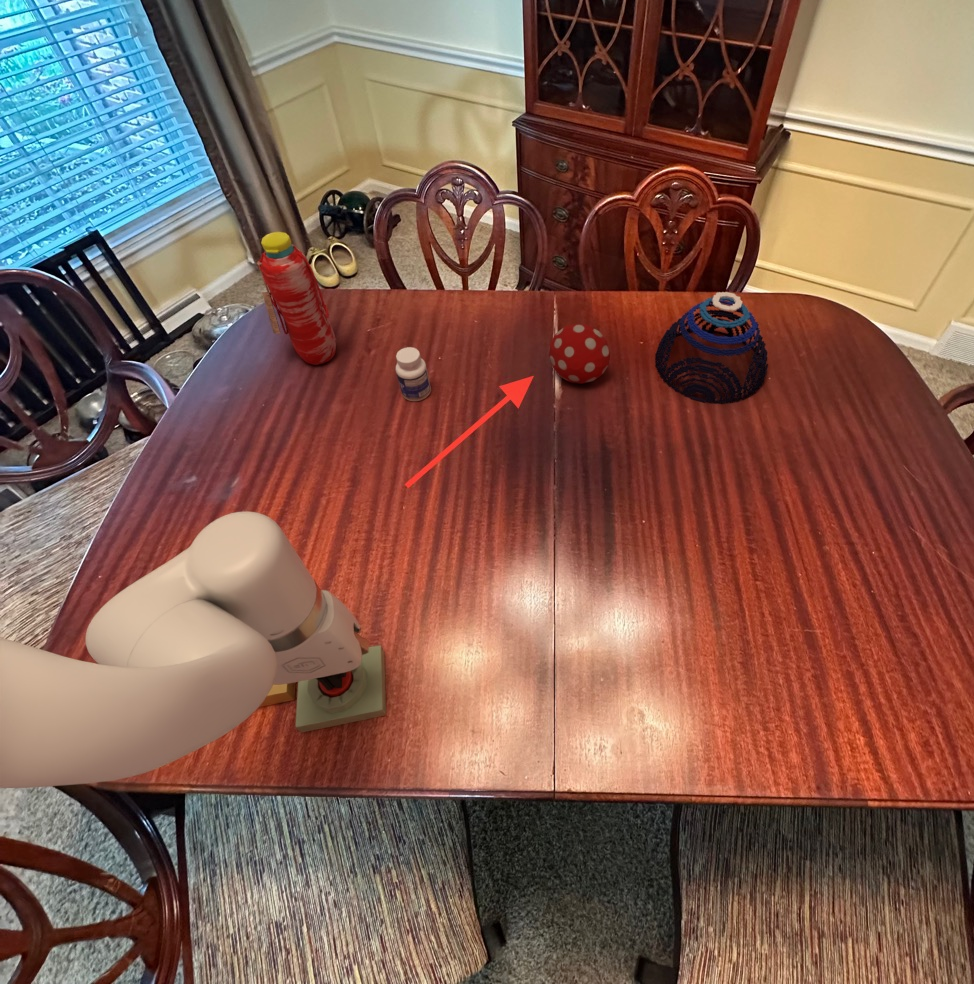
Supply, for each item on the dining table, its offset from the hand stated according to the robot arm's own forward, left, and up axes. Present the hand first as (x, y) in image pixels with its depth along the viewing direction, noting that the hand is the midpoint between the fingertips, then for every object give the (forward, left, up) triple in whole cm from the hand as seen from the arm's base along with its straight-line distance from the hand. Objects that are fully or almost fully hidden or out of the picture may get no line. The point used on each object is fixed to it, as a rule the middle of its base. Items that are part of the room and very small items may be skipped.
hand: (335, 676), depth 71 cm
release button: (0, 0, -2) cm, 2 cm away
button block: (0, 0, -5) cm, 5 cm away
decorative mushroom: (+42, +52, -5) cm, 67 cm away
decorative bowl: (+66, +47, -5) cm, 81 cm away
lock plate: (-11, +4, -5) cm, 13 cm away
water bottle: (-7, +65, -5) cm, 65 cm away
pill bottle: (+12, +51, -5) cm, 52 cm away
